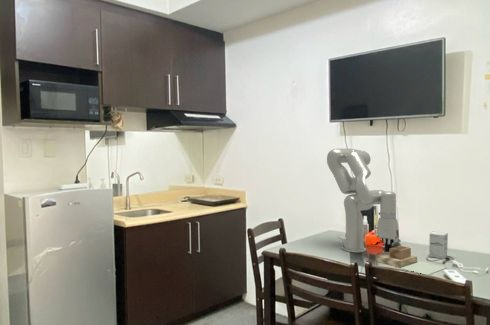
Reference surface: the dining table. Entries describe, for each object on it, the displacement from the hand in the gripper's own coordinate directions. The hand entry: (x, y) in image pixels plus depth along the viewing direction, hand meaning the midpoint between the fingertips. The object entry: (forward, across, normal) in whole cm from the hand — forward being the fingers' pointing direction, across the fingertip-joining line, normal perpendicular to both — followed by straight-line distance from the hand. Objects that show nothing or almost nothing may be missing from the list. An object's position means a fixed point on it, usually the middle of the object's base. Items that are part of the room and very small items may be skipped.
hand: (388, 251), depth 198 cm
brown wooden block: (-1, +7, 0) cm, 7 cm away
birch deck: (+4, +4, 0) cm, 6 cm away
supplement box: (+5, +12, +26) cm, 29 cm away
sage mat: (+5, +18, 0) cm, 19 cm away
